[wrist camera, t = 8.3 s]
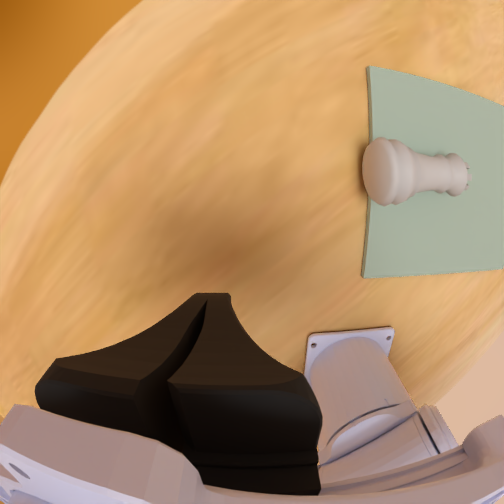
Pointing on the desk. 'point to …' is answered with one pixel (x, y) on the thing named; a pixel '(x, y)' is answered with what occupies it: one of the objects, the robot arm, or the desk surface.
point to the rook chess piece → (409, 172)
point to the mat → (430, 202)
